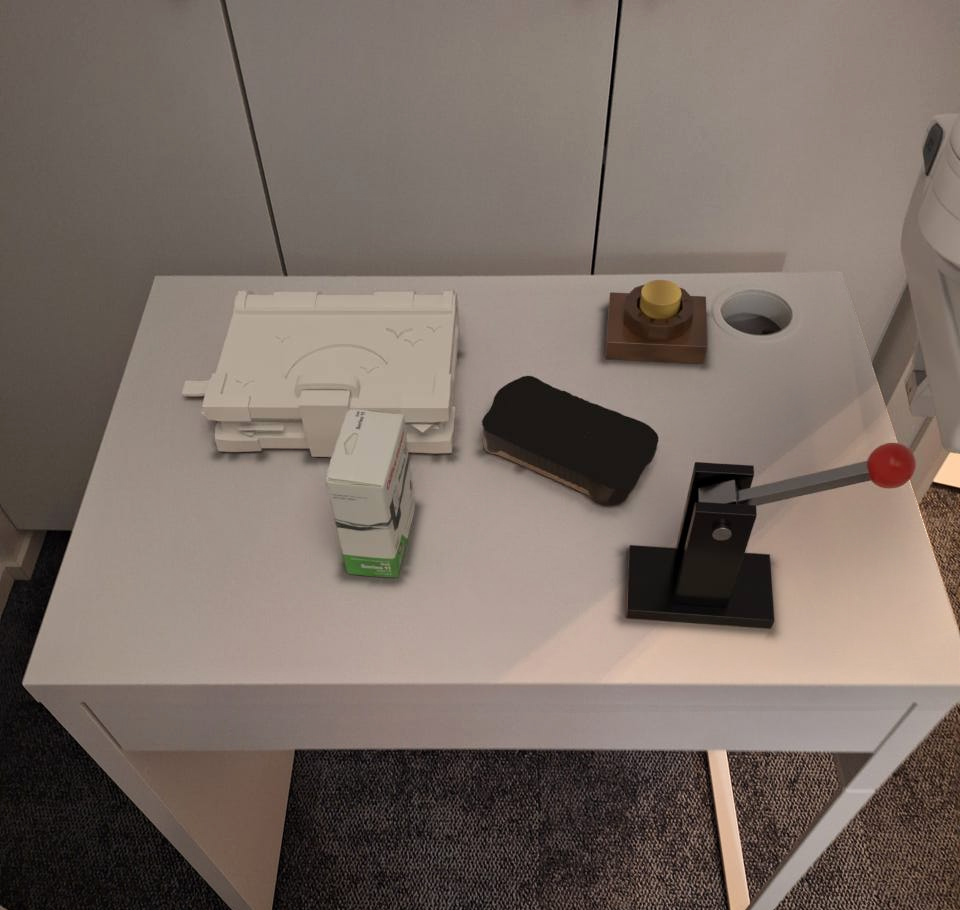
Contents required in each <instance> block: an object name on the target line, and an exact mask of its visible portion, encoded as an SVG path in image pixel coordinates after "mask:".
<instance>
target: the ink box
mask: <svg viewBox="0 0 960 910" xmlns="http://www.w3.org/2000/svg"><path fill="white" fill-rule="evenodd" d="M409 453H410V452H408V443H407V435H406V426H405V417H404V414H401V413H395V412H389V411H381V410H373V409H362V408H354V407H353V408H351V409H350V410H349V411H348V412H347V413H346V416H345V420H344V422H343V425H342V427H341V432H340V435H339V437H338V440H337V442H336V445H335V450H334V453H333V455H332V457H330V461H329V465H328V468H327V471H326V476H325V484H326V489H327V493H328V497H329V503H330V506H331V507H330V508H331V511H332V516H333V520H334V523H335V529H336V533H337V537H338V543H339V546H340V550H341V554H342V559H343V563H344V567H345V571H346V573H347V574H348V575H355V576H356V575H357V576H362V577H363V576H365V577H375V578H394V579H395V578H398V577H399V575H400V571H401V568H402V562H403V560H404V555H405V552H406V547H407V543H408V539H409V536H410V535H409V534H410V531H411V526H412V523H413V518H414V515H415V511H416V503H415V496H414V495H415V494H414V486H413V478H412V470H411V461H410V454H409Z"/></svg>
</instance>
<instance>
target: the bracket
mask: <svg viewBox="0 0 960 910" xmlns="http://www.w3.org/2000/svg"><path fill="white" fill-rule="evenodd" d="M754 477H755V465H752V464H738V463H737V464H735V463H732V464H731V463H719V462H699V461H695V462H694V465H693V469H692V474H691V478H690V482H689V487H688V491H687V496H686V501H685V505H684V509H683V514H682V518H681V522H680V527H679V531H678V536H677V541H676V545H675V547H669V546H668V547H666V546H651V545H639V544H638V545H637V544H635V545H634V544H630V545H629V546H628V552H627V556H628V557H627V575H626V576H627V577H626V578H627V580H626V609H625V610H626V612H625V618H626V619H633V620H648V621H661V622H674V623H687V624H688V623H689V624H703V625H713V626H714V625H716V626H728V627H729V626H730V627H743V628H756V629H770V630H771V629H772V627H773V625H774V623H775V621H776V620H775V607H774V593H773V580H772V579H773V578H772V564H771V554H770V553H757V552H746V551H747V547H748V544H749V541H750V538H751V535H752V531H753V530H754V529H753V528H754V525H755V523H756V520H757V516H758V513H757V511H758V510H757V506H756V505H741V504H725V503H709V502H699V494H698V489H699V488H700V487H704V486H709V485H713V484H717V483H721V482H726V481H730V480H735V481H736V484H737V486H738V489H739V490H742V489H747V488H751V487H752V484H753V481H754Z"/></svg>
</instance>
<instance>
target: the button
mask: <svg viewBox="0 0 960 910" xmlns="http://www.w3.org/2000/svg"><path fill="white" fill-rule="evenodd" d="M643 285H644V286H643V288H642V290H641V298H640V309H641V311H642V312H643V313H644V314H645V315H647V316H649V317H651V318H658V319H667V318H670V317H672V316H674V315H675V314H676V313H677V312H678V310H679V307H680V301H681V295H682V293H681V289H680V288H681V287H680V286H679V285H677V283H675V282H673V281H670V280H667V279H654V280H651V281H648V282H646V283H645V284H643ZM679 287H680V288H679Z"/></svg>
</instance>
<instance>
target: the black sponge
mask: <svg viewBox="0 0 960 910" xmlns="http://www.w3.org/2000/svg"><path fill="white" fill-rule="evenodd" d="M493 397H494V398H493V401H492V404H491V406H490V408H489V410H488V411H487V412H486V414H485V415H484V416H483V418H482V420H481V426H482V427H483V430H482V432H483V433H482V434H483V441H482V445H483V448H484V450H485V451H486V452H487V453H489V454H490V455H498V456H500V457H503V458H505V459H506V460H510V461H511V462H513V463H516V464H518V465H519V466H522V467H525V468H527V469H529V470H530V471H534V472H535V473H538V474H540V475H542V476H544V477H547V478H549V479H552V480H553V481H556V482H558V483H560V484H562V485H565V486H567V487H569V488H571V489H574V490H576V491H577V492H580V493H582V494H585V495H587V496H588V497H589V498H590V499H591V500H592V501H594V502H595V503H598V504H601V505H604V506H613V507H614V506H618V505H620V504H622V503H623V502H624V501H626V499H628V497H629V495H630V494H632V491H633V490H634V489H635V487H636V486H637V484H638V482H639V480H640V478H641V476H642V474H643V472H644V470H645V469H646V468H647V466H649V465H650V464H651V463H652V462H653V460H654V458H655V456H656V453H657V450H658V443H659V441H660V440H659V435H658V433H657V432H656V430H655V429H654V428H652V427H651V426H650V425H649V424H647V423H645V422H643V421H642V420H639V419H636V418H633V417H630V416H628V415H625V414H622V413H621V412H618V411H616V410H612V409H610V408H608V407H607V408H606V407H604V406H601V405H599V404H597V403H594V402H591V401H589V400H586V399H584V398H583V397H579V396H577V395H574V394H571V392H568V391H566V390H561V389H559V388H556V387H554V386H552V385H550V384H548V383H546V382H544V381H543V380H541V379H539V378H537V377H535V376H533V375H523V376H521V377H519V378H517V379H513V380H512V381H510V382H507V384H505V385H503V386H502V387H501V388H500V389H498V391H497V392H496V394H495V395H494V396H493Z"/></svg>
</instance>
